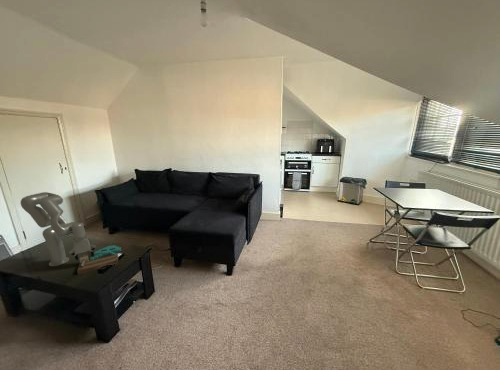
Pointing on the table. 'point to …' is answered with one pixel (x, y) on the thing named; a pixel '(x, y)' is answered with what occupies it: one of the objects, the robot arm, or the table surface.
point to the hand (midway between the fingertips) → (85, 257)
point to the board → (97, 263)
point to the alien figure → (106, 251)
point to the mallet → (83, 259)
